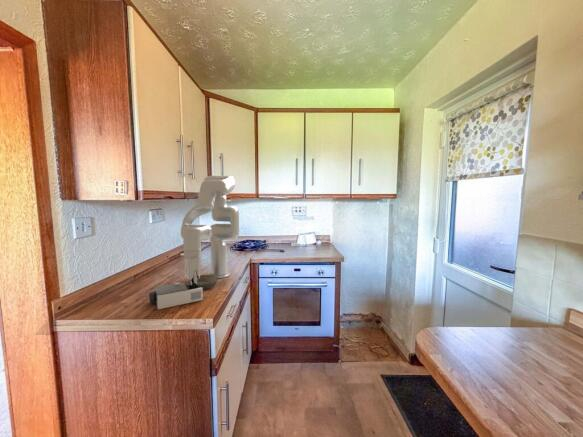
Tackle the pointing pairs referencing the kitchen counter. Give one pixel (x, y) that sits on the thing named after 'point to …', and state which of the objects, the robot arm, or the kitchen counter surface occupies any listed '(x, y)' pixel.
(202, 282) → the marble piece
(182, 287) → the camera housing
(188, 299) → the side door
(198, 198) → the robot arm
